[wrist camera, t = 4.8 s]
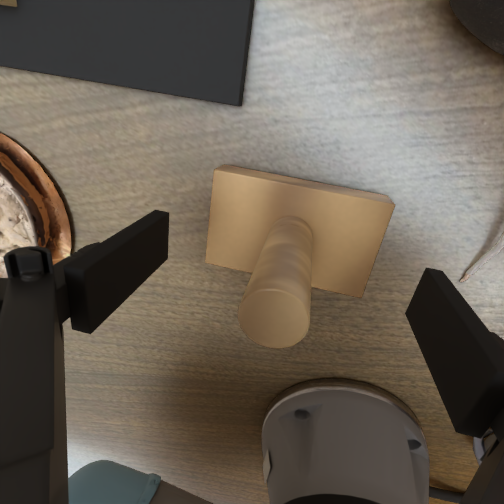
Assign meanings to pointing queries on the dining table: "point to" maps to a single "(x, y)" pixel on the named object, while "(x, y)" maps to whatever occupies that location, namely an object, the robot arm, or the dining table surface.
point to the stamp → (291, 245)
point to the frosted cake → (29, 206)
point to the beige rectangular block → (8, 3)
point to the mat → (134, 43)
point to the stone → (483, 20)
